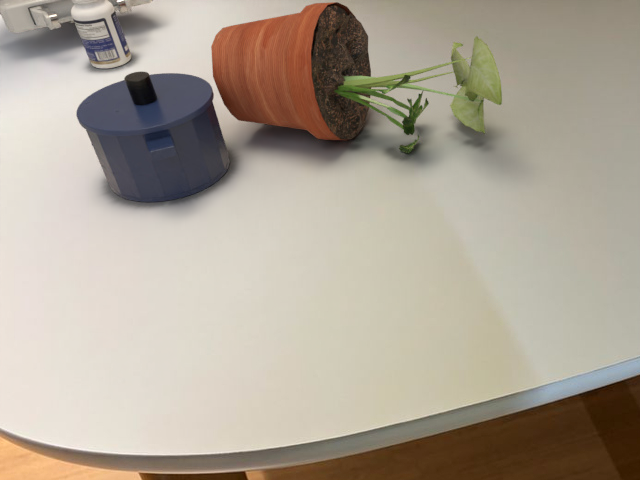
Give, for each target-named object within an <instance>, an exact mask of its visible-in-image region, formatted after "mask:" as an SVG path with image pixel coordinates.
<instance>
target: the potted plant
mask: <svg viewBox="0 0 640 480" xmlns="http://www.w3.org/2000/svg"><path fill="white" fill-rule="evenodd" d="M452 43H453V44H452V48H451V55H450V60H451V61H449V62H444V63H442V64H441V63H440V64H438V65H434V66H429V67H426V68H422V69H417V70H413V71H408V72H403V73H397V74H390V75H385V76H378V77H375V76H372V70H371V69H372V68H371V60H370V55H369V35H368V33H367V31H366V29H365V27H364V26H363V24H362V22H361V21H360V20H359V19H358V18H357V17H356V16H355V14H354V13H353V12H352V10H350V8H349V7H348V6H346V5H345V4H342V3H340V2H338V1H335V2H333V1H332V2H316V3H312V4H308V5H305V6H304V8H302V10H301V11H300V12H297V13H291V14H286V15H280V16H276V17H275V16H274V17H269V18H264V19H260V20H254V21H249V22H243V23H238V24H234V25H229V26H225V27H222V28H221V29H220V30H219V31H218V32H217V33H216V34H215V36H214V39H213V41H212V44H211V47H210V48H211V49H210V50H211V65H212V78H213V80H214V83H215V86H216V88H217V91H218V93H219V96H220V98H221V100H222V104H223V105H224V107H225V108H226V109H227V110H228V112H229V113H230V114H231V116H233V117H234V118H235V119H236V120H237V121H239V122H248V123H257V124H263V125H269V126H275V127H276V126H277V127H282V128H289V129H297V130H304V131H307V132H308V133H310V135H312V136H313V137H315V138H316V139H317V140H324V141H350V140H353V138H355V137H356V136H358V135H359V134H360V132H361V130H362V129H363V127H364V125H365V123H366V120H367V116H368V113H369V110H370V109H371V110H373V111H375V112H377V113H379V114H381V115H382V116H384V117H386V119H388V120H389V121H390V122H391V123H392V124H394V125H396V126H397V127H399V128H400V129H402V130H403V133H404V135H406V136H410V135H411V136H413V135H414V134H415V131H416V130H415V125H416V123H417V119H418V118H419V116H421V114H423V112H424V111H425V110H426V108H427V107H428V105H430V104H429V103H430V102H429V100H428V98H427V97H426V98H425V99H424V104H423V105H422V104H421V102H422V97H423V93H424V91H425V92H430V93H436V94H440V95H444V96H448V97H453V99H452V101H451V103H450V105H449V107H450V109H451V112H452V114H453V116H454V117H455V118H456V119H457V120H458V121H460V122H461V124H462V125H464V126H465V127H467V128H470V129H472V130H473V131H475V132H477V133H479V132H480V133H482V134H484V135H485V134H486V130H485V129H486V128H485V113H484V110H485V109H484V100H485V99H486V100H487V101H490V102H492V103H493V104H495V105H498V106H501V105H502V104H503V95H502V93H503V92H502V81H501V76H500V73H499V68H498V67H497V66H498V65H497V63H496V60H495V57H494V55H493V53H492V51H491V49H490V47H489V45H488V43H486V42H484V40H483V39H482V38H479V36H477V35H476V36H475V37H474V39H473V46H472V53H471V56H470V57H466V58H464V57H463V56H462V54H461V53H460V52H459V51H458V48H461V47H463V46H464V43H461V42H455V41H454V42H452ZM469 59H471V60H470V65H469V62H468V61H467V60H469ZM449 65H452V69H453V71H448V72H443V73H439V74H433V75H429V76H425V77H421V78H416V79H411V78H412V77H414V76H417V75H420V74H424V73H427V72H431V71H433V70H437V69H439V68H442V67H446V66H449ZM449 74H454V77H455V81H456V85H454V87H455V88H456V89H459V90H458V91H457V92H456V94H453V93H449V92H445V91H440V90H435V89H431V88H428V87H424V86H419V85H416V84H414V83H420V82H422V81H427V80H430V79H433V78H437V77H441V76H446V75H449ZM458 86H460V88H459V87H458ZM378 88H379V89H378ZM395 89H407V90H408V89H409V90H417V91H421V93H418V95H417V96H418V97H417V99H416V100H415V101H414V103H413V100H412V98H407V103H409V105H407V104H406V103H403V102H402V101H399V100H397V99H396V98H395V97H392V96H389V95H387V93H389V92H391V91H393V90H395ZM371 97H375V98H379V99H382V100H386V101H390V102H393V103H394V104H395V105H396V106H399V108H400V107H401V108H403V109H404V110H407V111H408V115H407V114H405V113H404V112H403V111H401V110H399V109H397V108H395V107H394V106H390V105H387V104H385V103H383V102H380V101H377V100H376V99H373V98H371ZM372 104H374V105H377V106H380V107H382V108H386V109H387V110H388V111H389V112H391V113H393V114H394V115H397V116H399V117H401V118H403V119H402V120H401V122H400V121H398V120H397V119H396V118H394V117H393V116H391V115H389V114H387V113H386V112H384V111H382V110H380V109H379V108H377V107H376V106H374V105H372ZM420 138H421V136H420V135H419V134H417V138H416V139H414V140H413V142H411V143H408V144H405V145H403V144H400V145H399V147H398V150H399V151H400V152H401V153H404V154H409V153H411V151H413V150H414V148H415V146H416V144H418V141H419V139H420Z"/></svg>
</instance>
